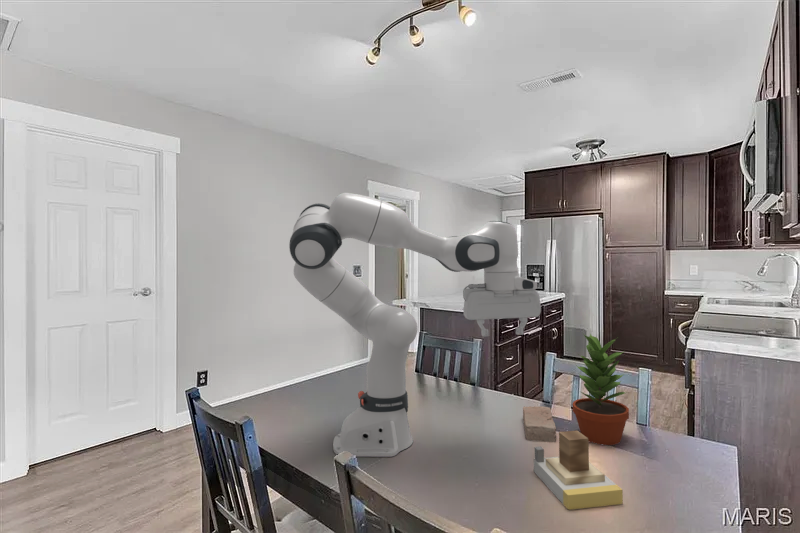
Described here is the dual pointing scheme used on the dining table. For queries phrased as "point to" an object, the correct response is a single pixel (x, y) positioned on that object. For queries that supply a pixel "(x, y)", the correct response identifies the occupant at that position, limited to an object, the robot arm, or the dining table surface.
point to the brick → (539, 424)
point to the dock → (577, 488)
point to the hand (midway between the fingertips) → (502, 335)
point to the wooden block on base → (574, 460)
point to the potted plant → (600, 397)
